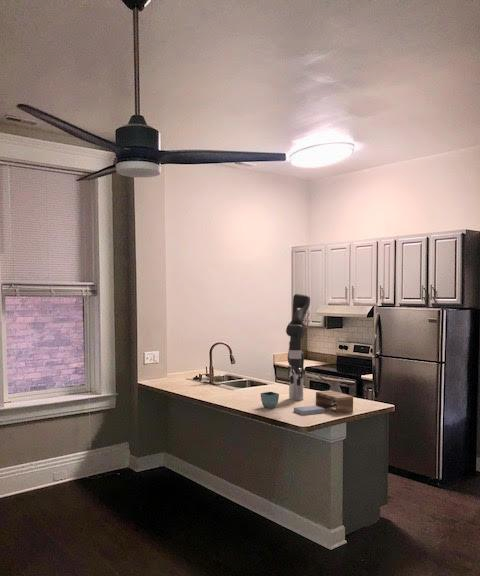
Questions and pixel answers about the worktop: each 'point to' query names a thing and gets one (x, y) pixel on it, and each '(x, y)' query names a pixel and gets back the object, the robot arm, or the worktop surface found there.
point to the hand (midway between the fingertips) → (295, 384)
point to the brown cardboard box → (342, 401)
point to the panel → (309, 410)
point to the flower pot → (269, 399)
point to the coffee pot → (333, 386)
